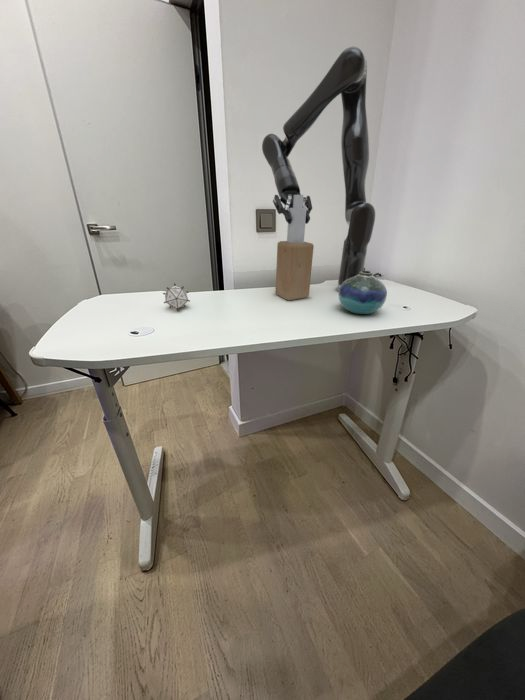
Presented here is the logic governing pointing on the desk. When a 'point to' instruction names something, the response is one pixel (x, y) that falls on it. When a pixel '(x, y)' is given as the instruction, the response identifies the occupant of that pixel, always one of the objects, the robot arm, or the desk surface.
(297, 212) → the flask
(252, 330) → the desk surface
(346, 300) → the vase
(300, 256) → the wooden block
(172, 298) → the grey spiked polyhedron
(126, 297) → the desk surface
